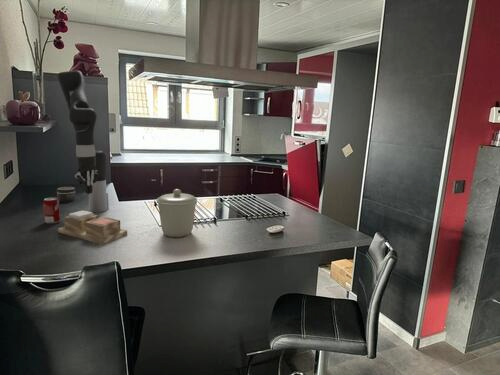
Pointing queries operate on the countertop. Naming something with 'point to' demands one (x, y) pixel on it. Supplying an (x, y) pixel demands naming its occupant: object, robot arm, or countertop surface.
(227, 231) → the countertop surface
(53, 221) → the soda can
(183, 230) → the canister
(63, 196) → the jar
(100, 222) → the red key
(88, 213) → the white key
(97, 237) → the frame
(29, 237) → the countertop surface
